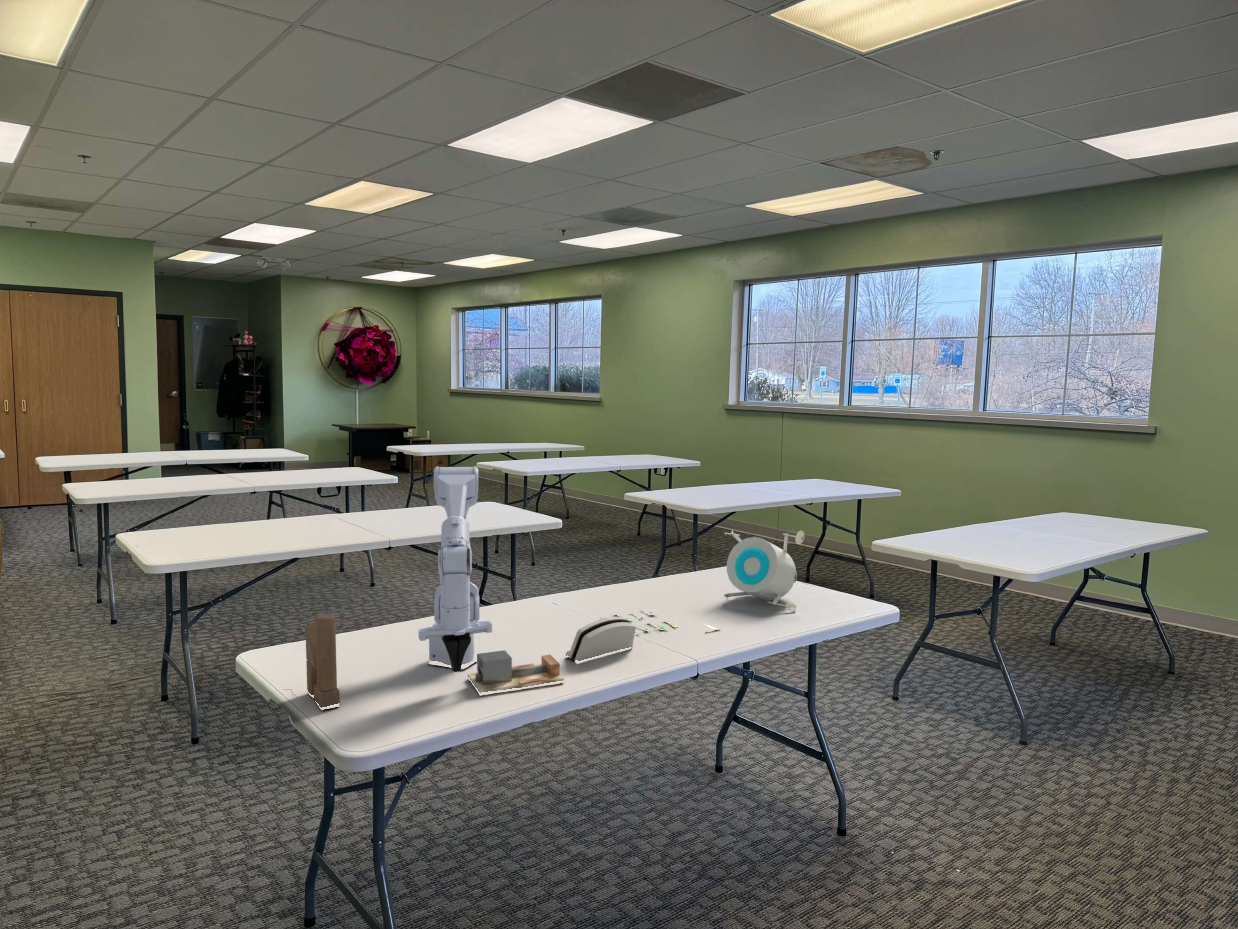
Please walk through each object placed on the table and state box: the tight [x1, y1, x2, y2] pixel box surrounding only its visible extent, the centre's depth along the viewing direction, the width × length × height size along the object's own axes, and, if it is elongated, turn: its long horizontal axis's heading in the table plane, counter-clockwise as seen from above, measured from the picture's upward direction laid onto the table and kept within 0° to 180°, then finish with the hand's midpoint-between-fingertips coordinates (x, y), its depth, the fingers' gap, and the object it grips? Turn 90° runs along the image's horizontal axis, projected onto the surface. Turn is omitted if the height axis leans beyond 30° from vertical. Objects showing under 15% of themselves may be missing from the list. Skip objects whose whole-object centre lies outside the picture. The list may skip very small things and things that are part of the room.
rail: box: [467, 654, 565, 693], centre depth 168 cm, size 18×10×4 cm, turn 114°
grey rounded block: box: [565, 616, 636, 661], centre depth 185 cm, size 17×5×10 cm, turn 131°
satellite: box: [723, 528, 805, 613], centre depth 232 cm, size 23×20×25 cm
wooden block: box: [304, 613, 341, 708], centre depth 156 cm, size 4×11×18 cm, turn 35°
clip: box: [476, 649, 513, 685], centre depth 166 cm, size 6×5×5 cm
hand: (456, 670), depth 163 cm, fingers closed
